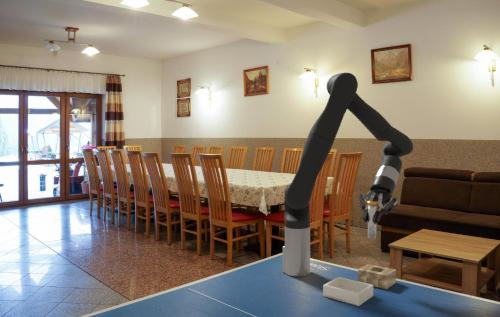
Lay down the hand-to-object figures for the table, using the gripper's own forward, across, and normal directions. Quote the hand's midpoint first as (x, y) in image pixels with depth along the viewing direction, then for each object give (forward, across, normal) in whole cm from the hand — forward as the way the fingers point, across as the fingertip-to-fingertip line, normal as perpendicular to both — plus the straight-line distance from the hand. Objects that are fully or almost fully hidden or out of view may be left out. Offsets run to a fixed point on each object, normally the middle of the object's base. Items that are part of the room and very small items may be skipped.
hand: (369, 221), depth 137 cm
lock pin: (+3, 0, +6) cm, 6 cm away
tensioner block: (+12, +1, +19) cm, 22 cm away
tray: (+24, -1, +7) cm, 25 cm away
